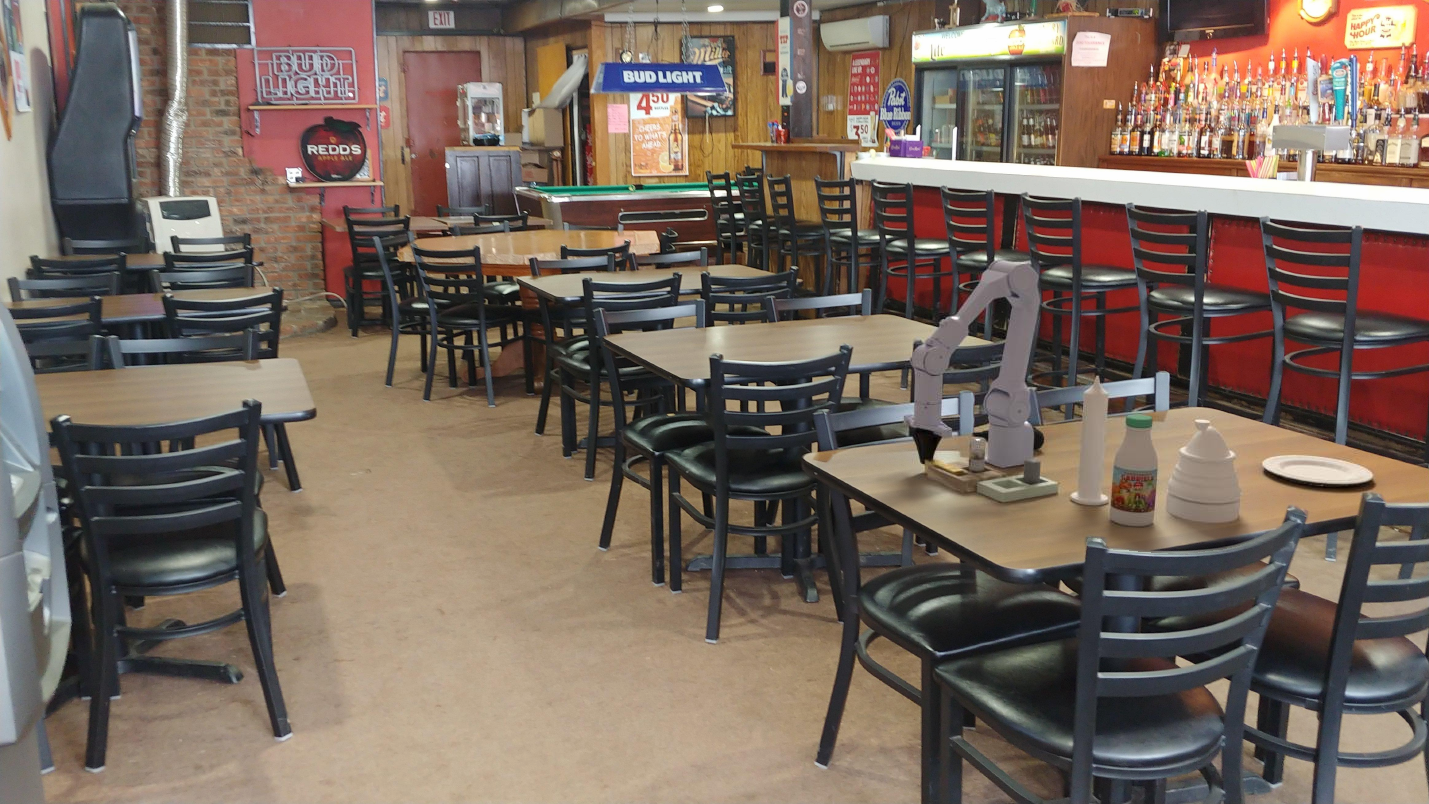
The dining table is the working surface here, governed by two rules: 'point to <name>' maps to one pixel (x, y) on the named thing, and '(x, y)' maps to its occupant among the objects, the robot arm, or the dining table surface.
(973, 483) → the socket block
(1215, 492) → the honey pot
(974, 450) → the glass jar
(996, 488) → the rack
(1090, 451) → the candle
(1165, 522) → the dining table surface
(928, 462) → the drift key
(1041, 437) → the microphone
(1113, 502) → the milk bottle
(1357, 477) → the plate
